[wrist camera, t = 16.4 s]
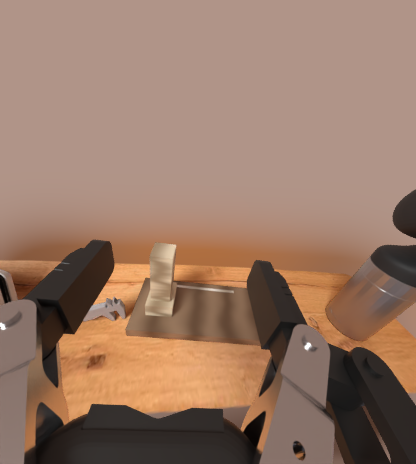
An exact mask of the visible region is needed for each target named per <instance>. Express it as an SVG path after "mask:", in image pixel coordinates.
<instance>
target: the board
mask: <svg viewBox="0 0 416 464" xmlns="http://www.w3.org/2000/svg"><path fill="white" fill-rule="evenodd" d="M173 282H176V283H177V289H176V296H175V301H174V307H173V312H172V317H164V316H152V315H145V304H146V301H147V298H148V295H149V292H150V278H145V281H144V283H143V286H142V289H141V291H140V294H139V296H138V299H137V301H136V304H135V307H134V309H133V312H132V314H131V317H130V319H129V322H128V325H127V327H126V335H127V336H140V337H153V338H167V339H180V340H193V341H206V342H220V343H233V344H246V345H259V346H261V344H260V340H259V336H258V332H257V328H256V324H255V320H254V315H253V311H252V307H251V303H250V299H249V295H248V290H247V288H237V287H228V286H219V285H209V284H200V283H190V282H181V281H173Z"/></svg>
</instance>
